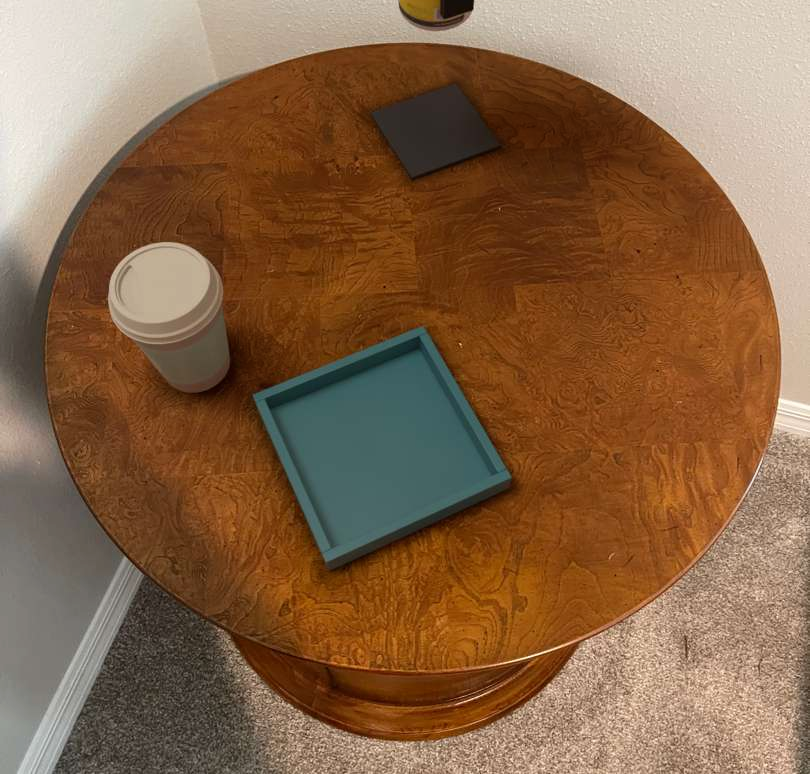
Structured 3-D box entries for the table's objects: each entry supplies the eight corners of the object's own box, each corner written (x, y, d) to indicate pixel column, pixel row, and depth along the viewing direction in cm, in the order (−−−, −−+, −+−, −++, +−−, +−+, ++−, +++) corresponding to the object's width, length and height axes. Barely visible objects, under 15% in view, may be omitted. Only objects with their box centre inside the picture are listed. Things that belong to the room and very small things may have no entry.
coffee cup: (166, 315, 74) (126, 227, 63) (258, 331, 73) (232, 245, 62) (132, 397, 70) (82, 318, 59) (228, 415, 69) (196, 338, 58)
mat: (500, 147, 84) (501, 145, 83) (411, 180, 82) (411, 177, 81) (455, 86, 88) (455, 83, 88) (370, 115, 86) (370, 112, 86)
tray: (509, 488, 66) (512, 477, 64) (328, 571, 62) (325, 562, 60) (422, 339, 72) (423, 325, 71) (256, 407, 69) (252, 394, 67)
